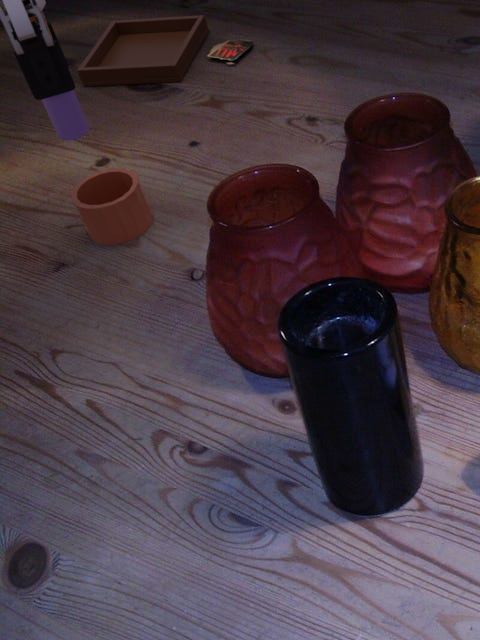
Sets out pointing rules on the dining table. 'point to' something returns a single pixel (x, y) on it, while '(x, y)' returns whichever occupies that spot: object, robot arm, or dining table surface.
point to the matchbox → (230, 49)
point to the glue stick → (66, 112)
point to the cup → (112, 206)
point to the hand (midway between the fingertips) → (52, 82)
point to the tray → (144, 51)
